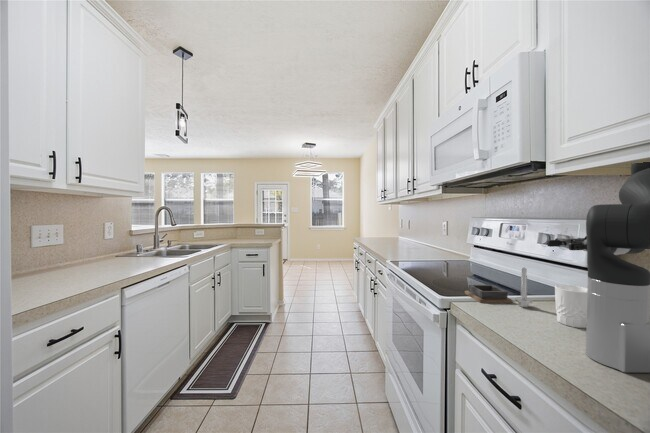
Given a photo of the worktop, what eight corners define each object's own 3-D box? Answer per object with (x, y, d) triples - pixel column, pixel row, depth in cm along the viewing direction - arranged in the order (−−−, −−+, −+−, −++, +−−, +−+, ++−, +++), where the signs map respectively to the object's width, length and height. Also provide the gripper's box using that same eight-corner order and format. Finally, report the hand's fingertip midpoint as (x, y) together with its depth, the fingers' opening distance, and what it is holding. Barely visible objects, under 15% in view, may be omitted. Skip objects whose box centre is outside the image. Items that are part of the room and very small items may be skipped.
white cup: (598, 330, 75) (599, 293, 75) (564, 327, 77) (565, 291, 76) (578, 319, 83) (579, 285, 83) (548, 317, 84) (548, 283, 84)
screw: (513, 303, 97) (531, 305, 95) (515, 307, 93) (533, 309, 91) (514, 265, 97) (531, 266, 95) (516, 268, 92) (534, 269, 90)
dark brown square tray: (512, 302, 97) (512, 292, 97) (480, 302, 97) (480, 292, 97) (493, 293, 108) (493, 284, 108) (464, 293, 108) (464, 284, 108)
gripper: (586, 230, 101) (541, 231, 101) (630, 234, 87) (578, 235, 86) (586, 251, 101) (541, 252, 101) (630, 258, 87) (577, 260, 87)
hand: (558, 245), depth 94 cm, fingers open, 8 cm apart
